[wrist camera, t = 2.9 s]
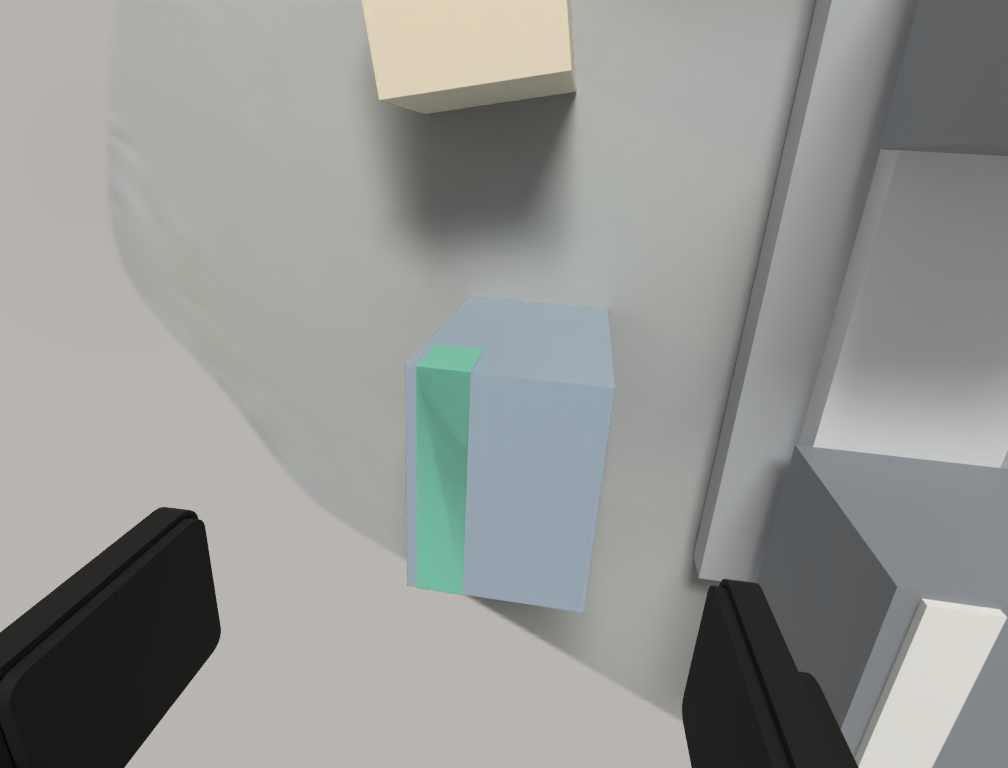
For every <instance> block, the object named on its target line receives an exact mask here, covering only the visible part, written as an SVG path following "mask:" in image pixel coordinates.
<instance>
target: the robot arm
mask: <svg viewBox="0 0 1008 768" xmlns="http://www.w3.org/2000/svg"><path fill="white" fill-rule="evenodd" d="M220 634H221V627H220V621H219V614H218V608H217V602H216V595H215V589H214V582H213V576H212V569H211V563H210V556H209V550H208V543H207V537H206V530H205V525H204V523H203V522H202V520H199V519H198V516H197V515H196V513H195V512H193V511H191V510H182V509H175V508H167V507H162V508H159V509H157V510H155V511H154V512H152V513H151V514H150V515H149V516H147V517H146V518H145V519H144V520H142V521H141V522H140V523H138V524H137V525H136V526H135V527H133V528H132V529H131V530H130V531H128V532H127V533H126V534H125V535H123V536H122V537H121V538H119V539H118V540H117V541H116V542H114V543H113V544H112V545H111V546H109V547H108V548H107V549H106V550H105V551H103V552H102V553H101V554H99V555H98V556H97V557H95V558H94V559H93V560H92V561H90V562H89V563H88V564H87V565H85V566H84V567H83V568H81V569H80V570H79V571H78V572H76V573H75V574H74V575H73V576H71V577H70V578H69V579H68V580H66V581H65V582H64V583H62V584H61V585H60V586H59V587H57V588H56V589H55V590H54V591H52V592H51V593H50V594H49V595H47V596H46V597H45V598H43V599H42V600H41V601H40V602H38V603H37V604H36V605H35V606H33V607H32V608H31V609H30V610H28V611H27V612H26V613H24V614H23V615H22V616H21V617H19V618H18V619H17V620H16V621H14V622H13V623H12V624H11V625H9V626H8V627H7V628H6V629H4V630H3V631H2V632H0V768H124V767H125V766H126V764H127V763H128V762H129V761H130V759H131V758H132V757H133V755H134V754H135V753H136V751H137V750H138V749H139V748H140V746H141V745H142V744H143V742H144V741H145V740H146V738H147V737H148V736H149V735H150V733H151V732H152V731H153V729H154V728H155V727H156V725H157V724H158V723H159V722H160V720H161V719H162V718H163V716H164V715H165V714H166V713H167V711H168V710H169V708H170V707H171V706H172V704H173V703H174V702H175V701H176V700H177V698H178V697H179V696H180V694H181V693H182V692H183V690H184V689H185V688H186V687H187V685H188V683H190V681H191V680H192V679H193V677H194V676H195V675H196V673H197V672H198V671H199V670H200V668H201V667H202V666H203V664H204V663H205V662H206V660H207V659H208V658H209V657H210V655H211V654H212V653H213V651H214V650H215V648H216V646H217V644H218V642H219V639H220ZM682 715H683V724H684V728H685V734H686V740H687V745H688V750H689V755H690V761H691V766H692V768H859V767H858V765H857V763H856V761H855V759H854V757H853V755H852V753H851V750H850V748H849V746H848V744H847V742H846V740H845V738H844V736H843V734H842V731H841V729H840V727H839V725H838V723H837V721H836V719H835V717H834V714H833V712H832V710H831V708H830V706H829V704H828V702H827V700H826V697H825V695H824V693H823V691H822V689H821V687H820V685H819V684H818V682H817V680H816V679H815V677H813V676H812V675H811V674H810V673H807V672H799V671H798V669H797V667H796V665H795V663H794V660H793V658H792V656H791V654H790V651H789V649H788V647H787V645H786V642H785V640H784V638H783V636H782V633H781V631H780V629H779V626H778V624H777V622H776V620H775V617H774V615H773V613H772V611H771V608H770V606H769V604H768V602H767V599H766V597H765V595H764V593H763V590H762V588H761V587H760V585H759V584H758V583H754V582H746V581H738V580H730V579H723V580H722V581H721V582H720V585H719V587H717V586H710V588H709V590H708V593H707V598H706V602H705V606H704V611H703V615H702V619H701V623H700V628H699V632H698V636H697V641H696V645H695V649H694V654H693V658H692V662H691V666H690V671H689V675H688V679H687V684H686V688H685V692H684V697H683V704H682Z"/></svg>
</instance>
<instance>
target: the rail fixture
mask: <svg viewBox="0 0 1008 768" xmlns="http://www.w3.org/2000/svg"><path fill="white" fill-rule="evenodd" d="M693 558H694V562H695V565H696V569H697V573H698V577H699V578H701V579H708V580H715V581H722V580H723V579H730V580H738V581H746V582H754V583H758V584H759V585H760V587H761V588H762V590H763V593H764V595H765V597H766V599H767V602H768V604H769V606H770V608H771V611H772V613H773V615H774V617H775V620H776V622H777V624H778V626H779V629H780V631H781V633H782V636H783V638H784V640H785V642H786V645H787V647H788V649H789V651H790V654H791V656H792V658H793V660H794V663H795V665H796V667H797V669H798V671H799V672H807V673H810V674H811V675H812V676H813V677H815V679H816V680H817V682H818V684H819V685H820V687H821V689H822V691H823V693H824V695H825V697H826V700H827V702H828V704H829V706H830V708H831V710H832V712H833V714H834V717H835V719H836V721H837V723H838V725H839V727H840V729H841V731H842V734H843V736H844V738H845V740H846V742H847V744H848V746H849V748H850V750H851V753H852V755H853V757H854V759H855V761H856V763H857V765H858V767H859V768H1008V0H816V4H815V9H814V13H813V18H812V22H811V27H810V32H809V36H808V41H807V45H806V50H805V54H804V59H803V63H802V68H801V72H800V77H799V81H798V86H797V90H796V95H795V99H794V104H793V108H792V113H791V117H790V122H789V126H788V131H787V135H786V140H785V144H784V149H783V153H782V158H781V162H780V167H779V171H778V176H777V180H776V185H775V189H774V194H773V198H772V203H771V207H770V212H769V217H768V221H767V226H766V230H765V235H764V239H763V244H762V248H761V253H760V257H759V262H758V266H757V271H756V275H755V280H754V284H753V289H752V293H751V298H750V302H749V307H748V311H747V316H746V320H745V325H744V329H743V334H742V338H741V343H740V347H739V352H738V356H737V361H736V365H735V370H734V374H733V379H732V383H731V388H730V392H729V397H728V402H727V406H726V411H725V415H724V420H723V424H722V429H721V433H720V438H719V442H718V447H717V451H716V456H715V460H714V465H713V469H712V474H711V478H710V483H709V487H708V492H707V496H706V501H705V505H704V510H703V514H702V519H701V523H700V528H699V532H698V537H697V541H696V546H695V550H694V555H693Z"/></svg>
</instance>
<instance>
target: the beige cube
mask: <svg viewBox="0 0 1008 768" xmlns="http://www.w3.org/2000/svg"><path fill="white" fill-rule="evenodd" d="M362 5H363V10H364V16H365V22H366V28H367V33H368V39H369V45H370V51H371V56H372V62H373V68H374V74H375V79H376V85H377V91H378V97H379V100H380V101H384V102H387V103H390V104H393V105H397V106H400V107H403V108H406V109H410V110H413V111H416V112H420V113H423V114H430V113H436V112H443V111H450V110H457V109H463V108H470V107H477V106H483V105H490V104H497V103H504V102H510V101H517V100H524V99H531V98H537V97H544V96H551V95H557V94H564V93H571V92H576V77H575V62H574V46H573V31H572V15H571V0H362Z"/></svg>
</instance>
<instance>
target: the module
mask: <svg viewBox="0 0 1008 768" xmlns="http://www.w3.org/2000/svg"><path fill="white" fill-rule="evenodd" d="M614 392H615V381H614V371H613V360H612V349H611V338H610V328H609V317H608V309H603V308H592V307H581V306H570V305H558V304H547V303H536V302H525V301H514V300H502V299H491V298H480V297H470V298H469V299H468V300H467V301H466V302H465V303H464V304H463V305H462V306H461V307H460V308H459V309H458V310H457V312H456V313H455V314H454V315H453V316H452V317H451V318H450V319H449V320H448V321H447V322H446V323H445V324H444V325H443V326H442V327H441V328H440V329H439V331H438V332H437V333H436V334H435V335H434V336H433V337H432V338H431V339H430V340H429V341H428V342H427V343H426V344H425V345H424V346H423V347H422V348H421V350H420V351H419V352H418V353H417V354H416V355H415V356H414V357H413V358H412V359H411V360H410V361H409V362H408V363H407V364H406V365H405V397H406V500H407V586H412V587H417V588H421V589H427V590H434V591H440V592H447V593H454V594H460V595H463V594H464V595H470V596H477V597H483V598H490V599H496V600H503V601H509V602H516V603H522V604H529V605H535V606H542V607H548V608H555V609H561V610H568V611H574V612H581V613H584V608H585V600H586V593H587V586H588V579H589V572H590V565H591V557H592V550H593V543H594V536H595V529H596V522H597V514H598V507H599V500H600V493H601V486H602V478H603V471H604V464H605V457H606V450H607V443H608V435H609V428H610V421H611V414H612V407H613V399H614Z"/></svg>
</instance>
